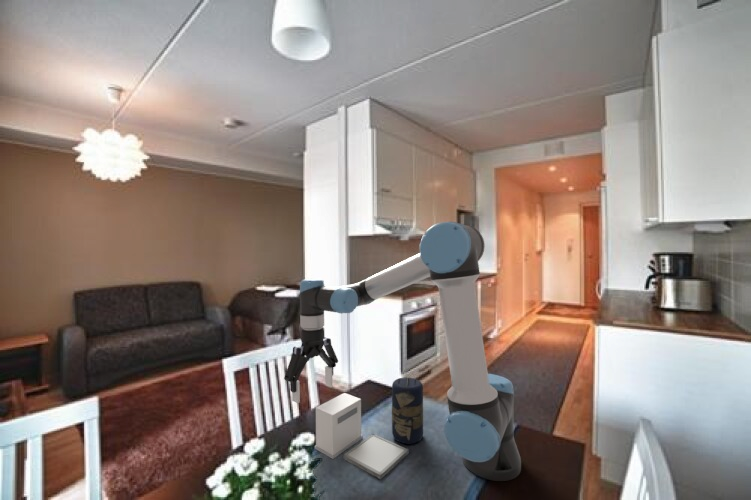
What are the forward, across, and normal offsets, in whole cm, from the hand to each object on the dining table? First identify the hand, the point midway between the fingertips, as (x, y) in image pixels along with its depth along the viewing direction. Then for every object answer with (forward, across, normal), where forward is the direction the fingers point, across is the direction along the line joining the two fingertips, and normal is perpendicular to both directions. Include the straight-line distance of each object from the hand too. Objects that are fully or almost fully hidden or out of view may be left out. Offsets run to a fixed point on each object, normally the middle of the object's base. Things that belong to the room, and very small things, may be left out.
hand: (313, 393), depth 105 cm
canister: (+12, -15, +26) cm, 32 cm away
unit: (+12, 0, +12) cm, 16 cm away
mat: (+12, -2, +24) cm, 27 cm away
